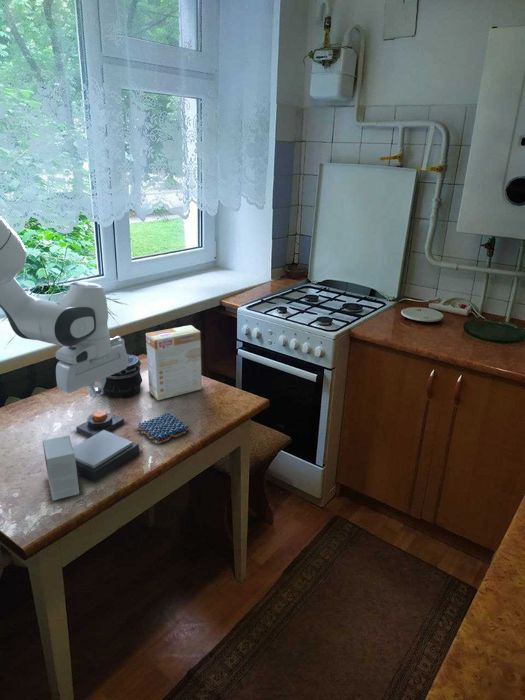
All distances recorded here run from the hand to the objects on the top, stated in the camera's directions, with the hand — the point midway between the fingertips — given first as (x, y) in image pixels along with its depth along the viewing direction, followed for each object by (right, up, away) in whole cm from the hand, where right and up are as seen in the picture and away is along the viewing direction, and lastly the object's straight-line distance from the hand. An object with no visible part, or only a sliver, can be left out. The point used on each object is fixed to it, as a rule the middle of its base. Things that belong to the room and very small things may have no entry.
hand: (96, 395), depth 128 cm
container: (-1, -1, +25) cm, 25 cm away
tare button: (0, -7, +3) cm, 7 cm away
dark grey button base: (0, -9, +4) cm, 10 cm away
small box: (-1, -19, -20) cm, 27 cm away
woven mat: (+17, -10, +3) cm, 20 cm away
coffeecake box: (+16, -1, +25) cm, 30 cm away
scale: (+4, -14, -9) cm, 18 cm away
